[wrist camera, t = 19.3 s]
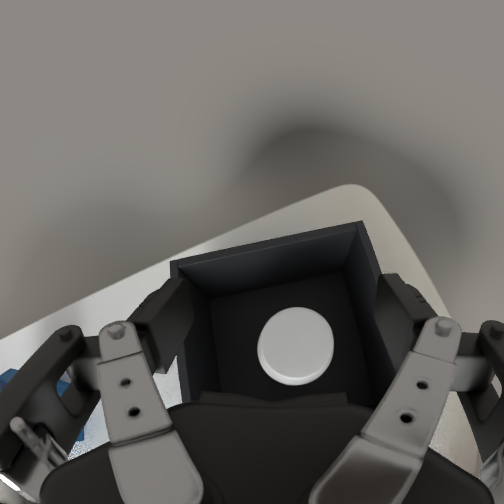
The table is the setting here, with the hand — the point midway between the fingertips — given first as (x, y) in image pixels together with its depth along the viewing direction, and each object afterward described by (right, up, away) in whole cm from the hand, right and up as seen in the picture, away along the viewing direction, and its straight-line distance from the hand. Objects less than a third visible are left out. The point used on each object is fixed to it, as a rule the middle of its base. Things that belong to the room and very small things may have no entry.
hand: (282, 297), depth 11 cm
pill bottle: (+2, -7, +11) cm, 13 cm away
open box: (+2, -7, +11) cm, 13 cm away
